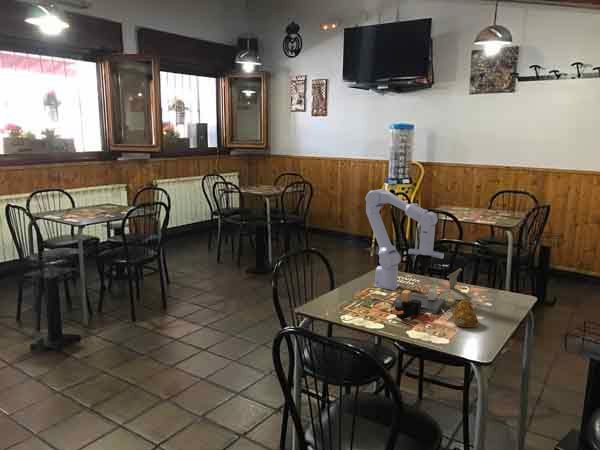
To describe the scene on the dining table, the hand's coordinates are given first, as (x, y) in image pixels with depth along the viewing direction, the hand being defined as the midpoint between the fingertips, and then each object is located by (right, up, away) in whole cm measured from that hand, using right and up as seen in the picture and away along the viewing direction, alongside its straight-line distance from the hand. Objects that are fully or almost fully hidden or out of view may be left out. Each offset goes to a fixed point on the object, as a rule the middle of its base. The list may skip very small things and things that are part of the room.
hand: (424, 272), depth 202 cm
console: (-4, -12, -9) cm, 16 cm away
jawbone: (+14, -11, +2) cm, 17 cm away
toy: (-12, -14, -22) cm, 29 cm away
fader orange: (-10, -10, -11) cm, 18 cm away
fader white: (+1, -10, -8) cm, 13 cm away
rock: (+7, -16, -28) cm, 33 cm away
